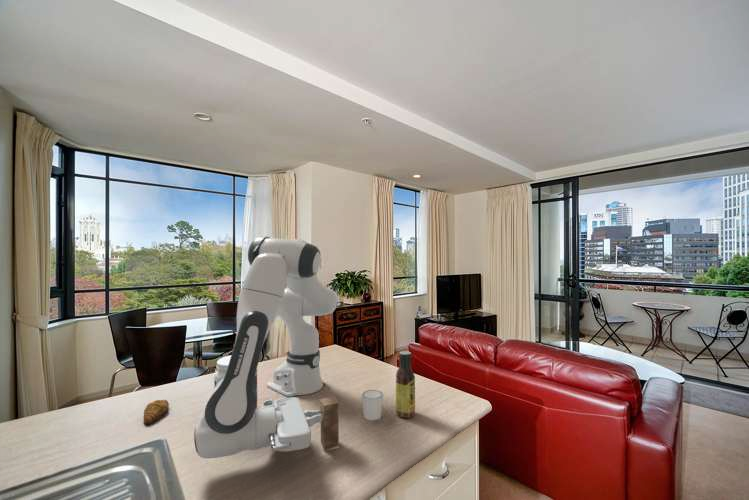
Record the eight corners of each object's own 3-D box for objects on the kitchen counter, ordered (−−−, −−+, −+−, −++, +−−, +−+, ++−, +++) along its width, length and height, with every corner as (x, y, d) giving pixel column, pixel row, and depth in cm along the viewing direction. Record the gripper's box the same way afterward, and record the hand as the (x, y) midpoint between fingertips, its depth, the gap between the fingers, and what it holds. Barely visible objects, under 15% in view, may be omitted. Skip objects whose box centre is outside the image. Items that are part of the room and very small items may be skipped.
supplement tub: (265, 410, 103) (266, 355, 103) (233, 431, 91) (234, 368, 92) (238, 403, 108) (238, 350, 109) (204, 421, 97) (204, 362, 97)
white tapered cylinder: (385, 412, 102) (385, 391, 102) (379, 423, 95) (379, 400, 95) (366, 408, 104) (366, 388, 104) (358, 419, 98) (358, 397, 98)
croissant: (153, 407, 106) (153, 392, 106) (175, 404, 108) (175, 390, 108) (134, 428, 93) (134, 411, 94) (160, 425, 95) (160, 408, 95)
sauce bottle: (414, 420, 97) (414, 356, 97) (394, 418, 98) (394, 355, 98) (415, 409, 103) (415, 350, 103) (397, 408, 104) (397, 349, 105)
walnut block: (324, 451, 82) (323, 405, 82) (320, 442, 86) (320, 399, 86) (338, 447, 83) (338, 402, 83) (334, 439, 87) (334, 396, 87)
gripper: (270, 436, 69) (331, 423, 74) (265, 397, 88) (314, 388, 93) (270, 464, 69) (331, 449, 74) (265, 419, 88) (314, 409, 93)
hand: (321, 415), depth 84 cm, fingers closed
